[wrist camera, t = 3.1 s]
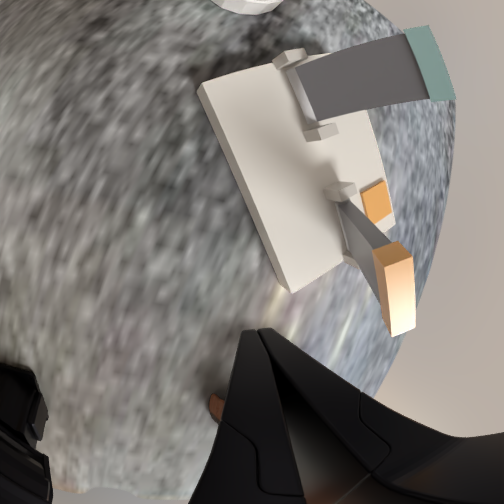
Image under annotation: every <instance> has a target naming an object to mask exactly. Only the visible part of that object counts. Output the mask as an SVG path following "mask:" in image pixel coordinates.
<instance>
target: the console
mask: <svg viewBox="0 0 504 504" xmlns="http://www.w3.org/2000/svg"><path fill="white" fill-rule="evenodd" d="M329 54H332V53H327V54H319V55H312V56H307V54H306V51H305V49H304V48H300V49H294V50H288V51H283V52H282V53H281V54H280V55H278V56H277V57H276V58H274V59H273V60H272V62H273V63H269V64H265V65H261V66H257V67H253V68H249V69H245V70H242V71H238V72H235V73H231V74H228V75H224V76H221V77H218V78H215V79H212V80H209V81H206V82H203V83H201V85H200V87H199V88H198V90H197V95H198V97H199V99H200V101H201V103H202V106H203V108H204V110H205V112H206V115H207V117H208V119H209V121H210V123H211V126H212V128H213V130H214V132H215V135H216V137H217V139H218V141H219V144H220V146H221V148H222V150H223V153H224V155H225V157H226V159H227V162H228V164H229V166H230V169H231V171H232V173H233V175H234V178H235V180H236V182H237V185H238V187H239V189H240V191H241V194H242V196H243V198H244V201H245V203H246V205H247V208H248V210H249V212H250V215H251V217H252V219H253V221H254V224H255V226H256V228H257V231H258V233H259V235H260V238H261V240H262V243H263V245H264V247H265V250H266V252H267V254H268V257H269V259H270V261H271V264H272V266H273V268H274V271H275V273H276V276H277V278H278V280H279V283H280V285H281V286H283V287H284V288H285V289H286V290H288V291H289V292H290V293H291V294H293V293H295V292H296V291H298V290H299V289H301V288H303V287H304V286H306V285H307V284H309V283H310V282H312V281H314V280H315V279H317V278H318V277H320V276H321V275H323V274H324V273H326V272H327V271H329V270H330V269H332V268H333V267H335V266H336V265H338V264H339V263H341V262H342V261H344V262H345V263H347V264H349V265H351V266H353V267H355V268H357V269H360V268H359V266H358V264H357V263H356V261H355V259H354V257H353V256H352V254H351V252H349V251H348V250H347V246H346V242H345V238H344V234H343V231H342V227H341V223H340V220H339V216H338V213H337V210H336V206H335V201H339V202H343V201H345V200H346V199H348V198H350V200H351V202H352V203H353V204H354V205H355V206H356V207H357V208H358V209H359V210H360V211H362V212H363V213H364V214H365V215H366V216H367V217H368V218H369V219H370V220H371V222H372V223H373V224H374V225H375V226H376V227H377V228H378V229H379V230H380V231H381V232H382V233H384V232H385V231H387V230H388V229H389V228H391V227H392V226H394V225H395V218H394V213H393V207H392V202H391V198H390V193H389V188H388V184H387V180H386V175H385V171H384V167H383V164H382V160H381V156H380V152H379V149H378V145H377V142H376V139H375V135H374V132H373V129H372V126H371V123H370V120H369V117H368V114H367V111H366V110H362V111H358V112H354V113H349V114H345V115H341V116H337V117H333V118H329V119H326V120H322V121H318V122H315V123H311V124H307V121H306V119H305V116H304V114H303V111H302V109H301V106H300V104H299V101H298V99H297V97H296V94H295V92H294V90H293V87H292V85H291V83H290V81H289V78H288V76H287V74H286V71H287V70H289V69H292V68H295V67H297V66H300V65H302V64H305V63H307V62H310V61H312V60H315V59H318V58H320V57H323V56H326V55H329Z"/></svg>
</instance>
